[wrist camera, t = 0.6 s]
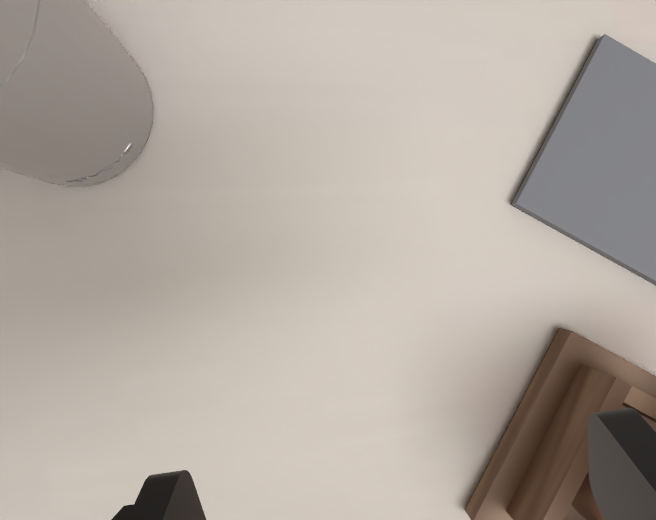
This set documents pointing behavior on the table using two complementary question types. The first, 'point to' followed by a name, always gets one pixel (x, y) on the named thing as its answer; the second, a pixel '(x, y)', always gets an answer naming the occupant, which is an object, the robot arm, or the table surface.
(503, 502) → the jug stand
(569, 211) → the mat
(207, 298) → the table surface
